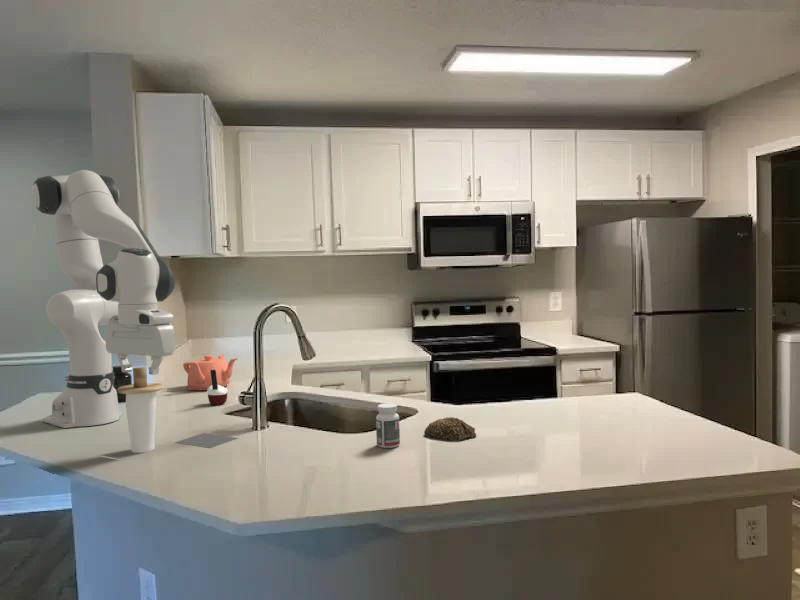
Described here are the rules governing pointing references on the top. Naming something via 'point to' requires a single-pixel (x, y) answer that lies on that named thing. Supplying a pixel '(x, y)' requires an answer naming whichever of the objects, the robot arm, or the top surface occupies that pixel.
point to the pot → (208, 372)
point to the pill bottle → (387, 426)
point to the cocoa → (216, 391)
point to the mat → (206, 440)
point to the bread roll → (449, 430)
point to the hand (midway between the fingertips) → (140, 373)
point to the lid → (140, 383)
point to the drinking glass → (141, 421)
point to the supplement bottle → (121, 381)
